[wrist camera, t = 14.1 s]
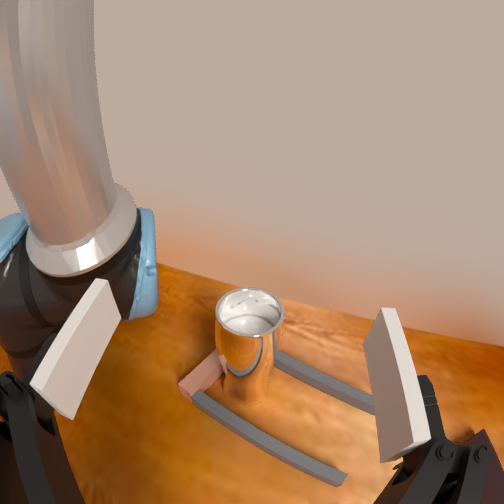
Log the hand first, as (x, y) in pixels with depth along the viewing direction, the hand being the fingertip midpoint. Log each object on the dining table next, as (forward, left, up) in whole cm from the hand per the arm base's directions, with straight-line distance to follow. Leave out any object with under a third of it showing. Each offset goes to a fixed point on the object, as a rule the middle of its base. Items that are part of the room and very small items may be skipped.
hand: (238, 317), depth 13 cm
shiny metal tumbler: (-5, +8, -24) cm, 26 cm away
